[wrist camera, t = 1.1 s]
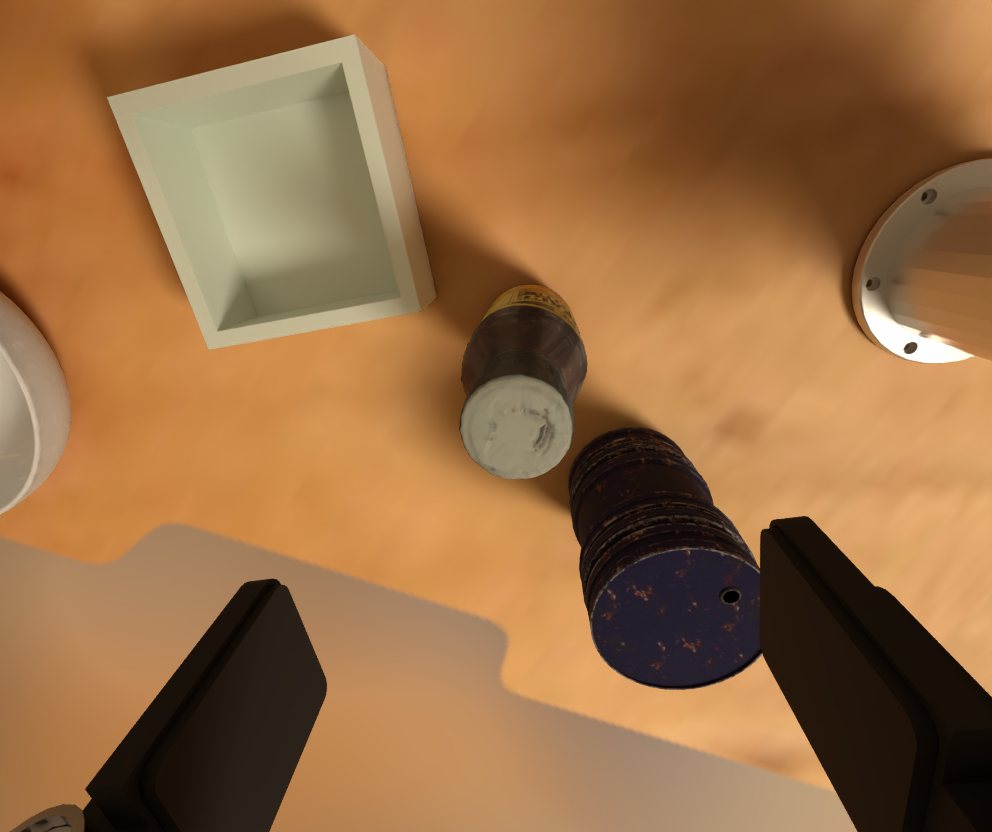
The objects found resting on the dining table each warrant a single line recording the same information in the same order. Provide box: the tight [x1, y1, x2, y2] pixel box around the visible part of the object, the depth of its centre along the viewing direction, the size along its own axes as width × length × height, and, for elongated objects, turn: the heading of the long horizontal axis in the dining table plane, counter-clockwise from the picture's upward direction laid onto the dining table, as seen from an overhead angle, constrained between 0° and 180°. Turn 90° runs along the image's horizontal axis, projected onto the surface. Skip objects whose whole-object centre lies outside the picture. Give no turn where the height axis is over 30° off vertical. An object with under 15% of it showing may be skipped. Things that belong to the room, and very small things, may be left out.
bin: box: [107, 34, 437, 349], centre depth 31 cm, size 14×14×6 cm
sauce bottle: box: [459, 285, 587, 479], centre depth 26 cm, size 6×6×20 cm
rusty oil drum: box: [569, 428, 762, 690], centre depth 33 cm, size 10×10×15 cm
